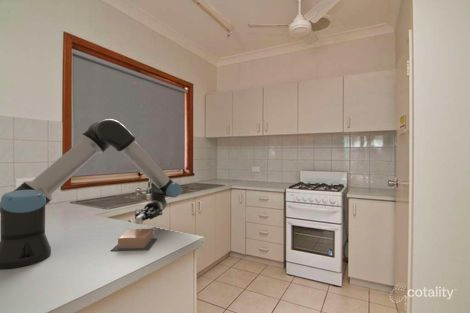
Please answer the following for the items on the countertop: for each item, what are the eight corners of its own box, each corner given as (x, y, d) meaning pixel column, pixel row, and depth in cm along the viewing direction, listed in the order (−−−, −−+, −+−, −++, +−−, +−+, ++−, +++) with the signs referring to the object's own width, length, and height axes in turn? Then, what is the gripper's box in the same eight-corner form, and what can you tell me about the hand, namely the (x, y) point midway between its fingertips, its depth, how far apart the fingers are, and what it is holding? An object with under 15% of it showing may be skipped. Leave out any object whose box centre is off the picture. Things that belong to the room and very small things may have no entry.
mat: (148, 250, 91) (148, 249, 91) (110, 251, 91) (110, 250, 91) (157, 238, 104) (157, 238, 104) (124, 239, 103) (124, 238, 103)
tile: (152, 237, 105) (144, 248, 93) (129, 238, 104) (117, 248, 92) (153, 228, 105) (144, 237, 93) (129, 228, 104) (118, 238, 92)
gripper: (166, 216, 124) (153, 229, 100) (140, 216, 123) (121, 230, 99) (166, 201, 124) (153, 211, 100) (140, 201, 123) (121, 211, 100)
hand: (137, 220), depth 100 cm, fingers closed
